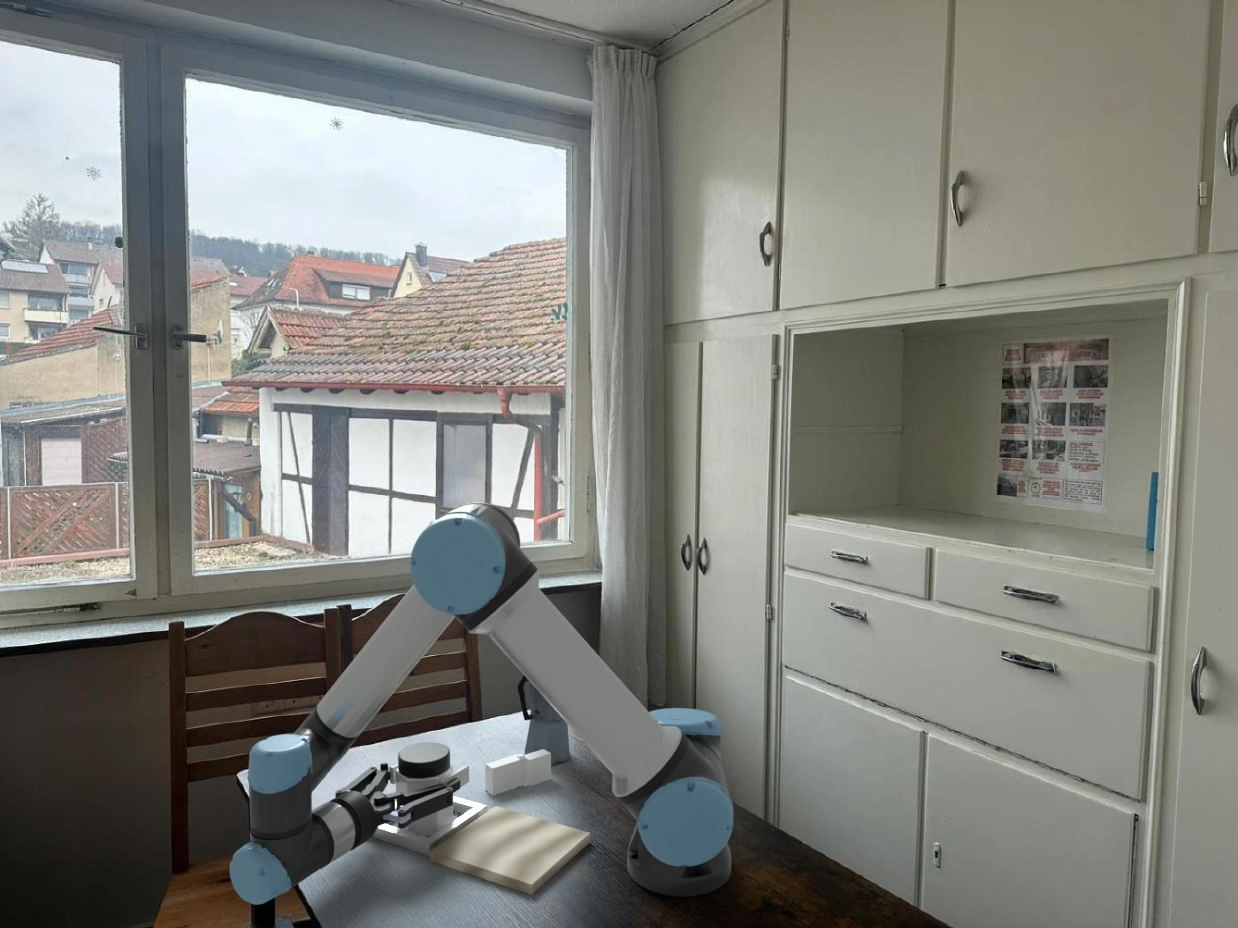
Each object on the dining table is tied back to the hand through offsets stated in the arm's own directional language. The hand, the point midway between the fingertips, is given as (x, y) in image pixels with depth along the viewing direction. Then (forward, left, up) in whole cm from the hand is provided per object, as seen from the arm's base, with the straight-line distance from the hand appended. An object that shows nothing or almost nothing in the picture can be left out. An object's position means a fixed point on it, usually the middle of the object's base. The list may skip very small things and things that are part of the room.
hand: (442, 766), depth 140 cm
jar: (0, +4, -8) cm, 9 cm away
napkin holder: (-6, -15, -8) cm, 18 cm away
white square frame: (0, +4, -8) cm, 9 cm away
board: (-17, +4, -8) cm, 19 cm away
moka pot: (-3, -27, -8) cm, 28 cm away
